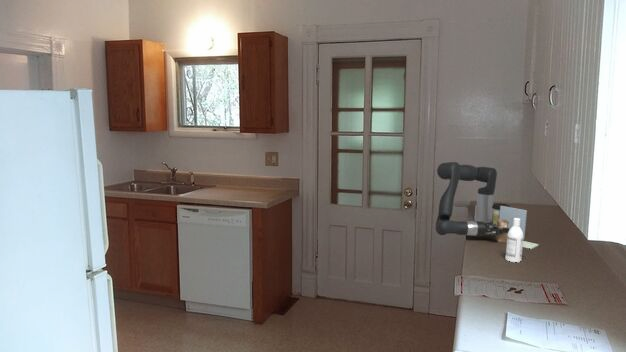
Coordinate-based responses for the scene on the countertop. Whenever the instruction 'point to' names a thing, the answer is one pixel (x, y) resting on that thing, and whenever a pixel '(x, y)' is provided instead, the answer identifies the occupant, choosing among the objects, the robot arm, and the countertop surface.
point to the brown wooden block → (502, 236)
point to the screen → (512, 213)
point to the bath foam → (514, 242)
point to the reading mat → (529, 245)
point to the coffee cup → (497, 211)
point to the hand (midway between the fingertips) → (507, 229)
